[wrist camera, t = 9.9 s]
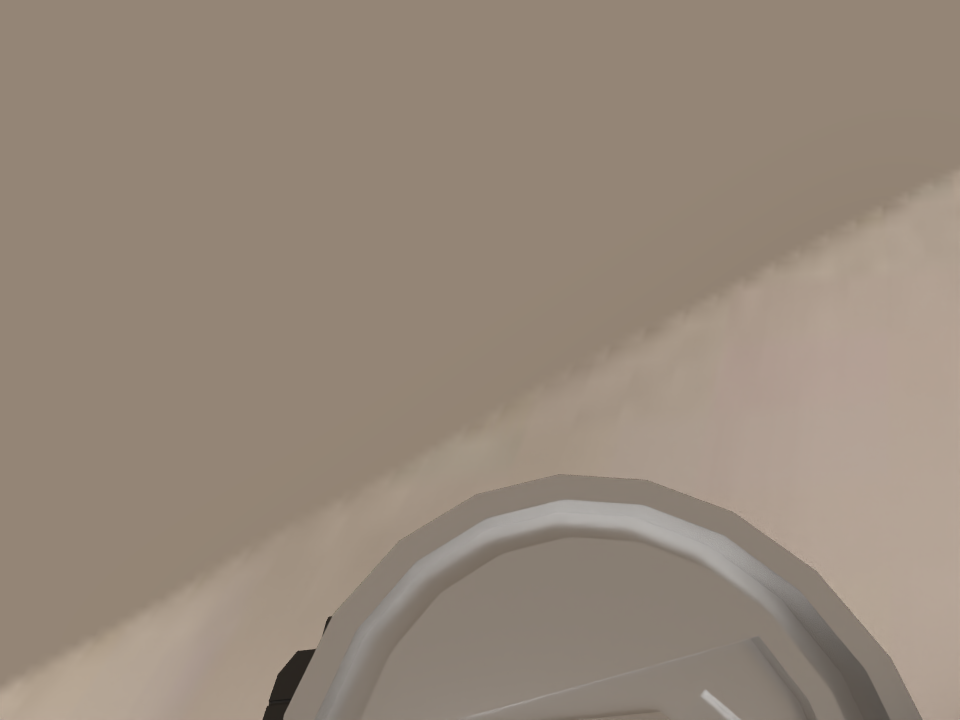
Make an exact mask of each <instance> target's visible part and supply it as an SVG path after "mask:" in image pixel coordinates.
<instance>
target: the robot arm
mask: <svg viewBox="0 0 960 720" xmlns="http://www.w3.org/2000/svg"><path fill="white" fill-rule="evenodd" d="M331 618H332V616H330V617H328V619H327V621H326V625H325V628H324V632H325V630H326V628H327V626H328V624H329V622H330V620H331ZM324 632H323V634H324ZM315 651H316V649H312V650H303V651H297V652H296V654H295V655H294V656H293V657H292V658H291V660H290V661H289V662H288V663H287V664H286V666H285V667H284V668H283V669H282V670H281V671H280V673H279V674H278V676H277V679H276V682H275V684H274V687H273V690H272V693H271V696H270V699H269V706H267V708H266V711H265V714H264V717H263V720H283V718H284V714H285V712H286V710H287V708H288V706H289V704H290V701H291V699H292V697H293V695H294V693H295V691H296V689H297V687H298V685H299V683H300V681H301V679H302V677H303V675H304V673H305V671H306V669H307V667H308V665H309V663H310V661H311V659H312V657H313V655H314V653H315Z"/></svg>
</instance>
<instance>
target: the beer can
mask: <svg viewBox="0 0 960 720" xmlns="http://www.w3.org/2000/svg"><path fill="white" fill-rule="evenodd" d="M283 720H922V718H921V716H920V714H919V712H918V710H917V708H916V706H915V704H914V702H913V700H912V698H911V696H910V694H909V692H908V690H907V688H906V687H905V685H904V683H903V681H902V679H901V677H900V675H899V673H898V671H897V669H896V667H895V665H894V663H893V661H892V659H891V658H890V656H889V655H888V654H887V653H886V652H885V651H884V649H883V648H882V647H881V646H880V645H879V644H878V642H877V641H876V640H875V639H874V638H873V637H872V635H871V634H870V633H869V632H868V631H867V630H866V628H865V627H864V626H863V625H862V624H861V623H860V621H859V620H858V619H857V618H856V617H855V616H854V614H853V613H852V612H851V611H850V610H849V609H848V607H847V606H846V605H845V604H844V603H843V602H842V600H841V599H840V598H839V597H838V596H837V595H836V593H835V592H834V591H833V590H832V589H831V588H830V586H829V585H828V584H827V583H826V582H825V581H824V579H823V578H822V577H821V576H820V575H819V574H818V572H817V571H816V570H814V569H813V568H811V567H810V566H809V565H807V564H806V563H804V562H803V561H801V560H800V559H799V558H797V557H796V556H794V555H793V554H792V553H790V552H789V551H787V550H786V549H785V548H783V547H782V546H780V545H779V544H778V543H776V542H775V541H773V540H772V539H770V538H769V537H768V536H766V535H765V534H763V533H762V532H761V531H759V530H758V529H756V528H755V527H754V526H752V525H751V524H749V523H748V522H747V521H745V520H744V519H742V518H741V517H740V516H738V515H737V514H735V513H734V512H732V511H729V510H726V509H724V508H721V507H718V506H716V505H713V504H710V503H707V502H705V501H702V500H699V499H697V498H694V497H691V496H688V495H686V494H683V493H680V492H678V491H675V490H672V489H669V488H667V487H664V486H661V485H659V484H656V483H653V482H650V481H648V480H639V479H624V478H609V477H594V476H579V475H564V474H558V475H554V476H550V477H546V478H542V479H538V480H534V481H529V482H525V483H521V484H517V485H513V486H509V487H505V488H500V489H496V490H492V491H488V492H484V493H480V494H476V495H474V496H473V497H471V498H469V499H468V500H466V501H464V502H463V503H461V504H459V505H458V506H456V507H454V508H453V509H451V510H449V511H448V512H446V513H444V514H443V515H441V516H439V517H438V518H436V519H434V520H433V521H431V522H430V523H428V524H426V525H425V526H423V527H421V528H420V529H418V530H416V531H415V532H413V533H411V534H410V535H408V536H406V537H405V538H403V539H401V540H400V541H399V542H398V543H397V544H396V545H395V546H394V547H393V548H392V549H391V551H390V552H389V553H388V554H387V555H386V556H385V557H384V558H383V559H382V561H381V562H380V563H379V564H378V565H377V566H376V567H375V568H374V569H373V571H372V572H371V573H370V574H369V575H368V576H367V577H366V578H365V579H364V581H363V582H362V583H361V584H360V585H359V586H358V587H357V588H356V589H355V591H354V592H353V593H352V594H351V595H350V596H349V597H348V598H347V599H346V601H345V602H344V603H343V604H342V605H341V606H340V607H339V608H338V609H337V611H336V612H335V613H334V614H333V616H332V618H331V620H330V622H329V624H328V626H327V628H326V630H325V632H324V634H323V636H322V638H321V640H320V642H319V644H318V646H317V649H316V651H315V653H314V655H313V657H312V659H311V661H310V663H309V665H308V667H307V669H306V671H305V673H304V675H303V677H302V679H301V681H300V683H299V685H298V687H297V689H296V691H295V693H294V695H293V697H292V699H291V701H290V704H289V706H288V708H287V710H286V712H285V714H284V718H283Z"/></svg>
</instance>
